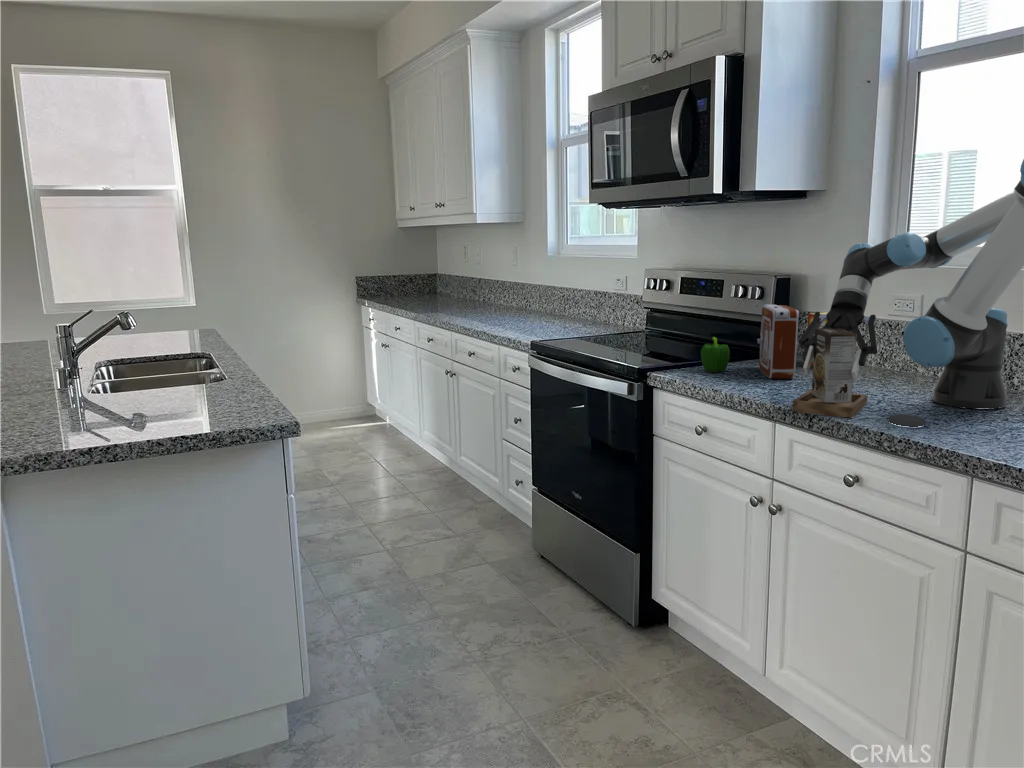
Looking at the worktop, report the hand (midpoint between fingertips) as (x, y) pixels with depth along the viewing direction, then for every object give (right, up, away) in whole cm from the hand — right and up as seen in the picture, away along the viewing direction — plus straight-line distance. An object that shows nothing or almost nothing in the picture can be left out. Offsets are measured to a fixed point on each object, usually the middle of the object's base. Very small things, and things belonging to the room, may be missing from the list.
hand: (829, 373), depth 174 cm
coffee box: (+2, -6, +4) cm, 7 cm away
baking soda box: (+22, +3, +56) cm, 60 cm away
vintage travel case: (+3, 0, +45) cm, 45 cm away
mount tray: (+2, -8, +4) cm, 9 cm away
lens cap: (+12, -11, -10) cm, 20 cm away
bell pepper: (-13, +1, +51) cm, 52 cm away
